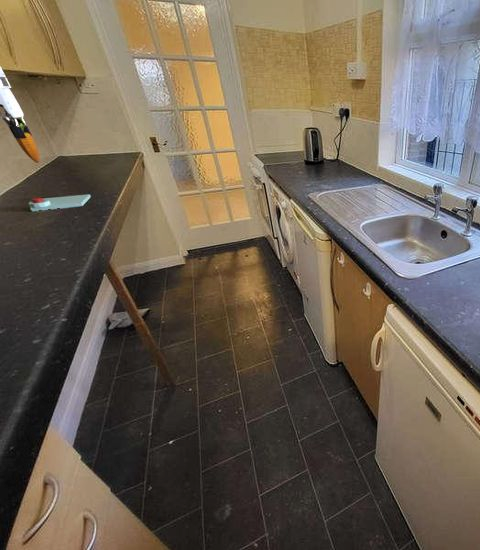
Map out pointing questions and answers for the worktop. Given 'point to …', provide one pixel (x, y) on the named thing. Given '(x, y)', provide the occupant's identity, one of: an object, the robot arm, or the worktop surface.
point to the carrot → (29, 146)
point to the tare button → (37, 200)
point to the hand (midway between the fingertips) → (23, 137)
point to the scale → (59, 202)
